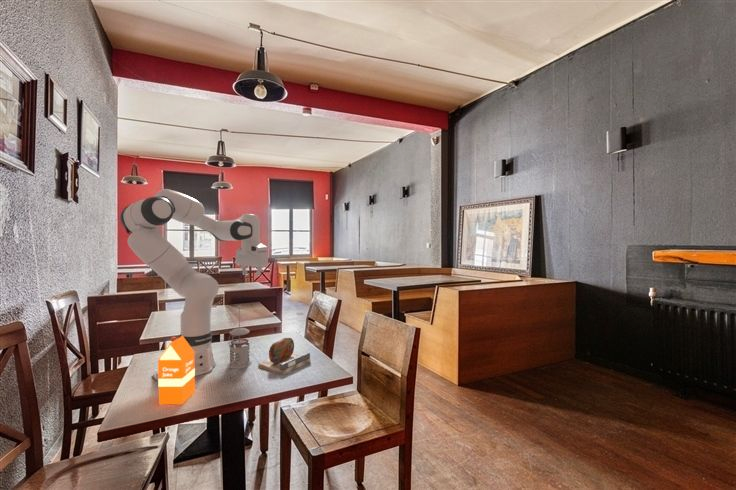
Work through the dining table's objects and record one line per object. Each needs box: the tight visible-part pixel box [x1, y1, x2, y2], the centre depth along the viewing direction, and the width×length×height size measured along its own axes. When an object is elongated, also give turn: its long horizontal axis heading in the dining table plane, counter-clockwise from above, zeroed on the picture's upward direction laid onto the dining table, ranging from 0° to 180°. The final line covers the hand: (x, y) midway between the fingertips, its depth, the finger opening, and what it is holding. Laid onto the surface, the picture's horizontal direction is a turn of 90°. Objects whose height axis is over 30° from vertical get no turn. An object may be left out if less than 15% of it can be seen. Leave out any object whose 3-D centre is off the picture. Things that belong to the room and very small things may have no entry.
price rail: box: [280, 352, 311, 371], centre depth 145 cm, size 16×1×2 cm, turn 147°
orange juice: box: [157, 336, 196, 405], centre depth 118 cm, size 8×9×20 cm
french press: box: [227, 304, 253, 370], centre depth 148 cm, size 10×12×25 cm
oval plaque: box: [268, 337, 295, 364], centre depth 149 cm, size 15×3×8 cm, turn 159°
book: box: [257, 353, 311, 375], centre depth 148 cm, size 16×14×2 cm
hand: (251, 275), depth 173 cm, fingers open, 8 cm apart
